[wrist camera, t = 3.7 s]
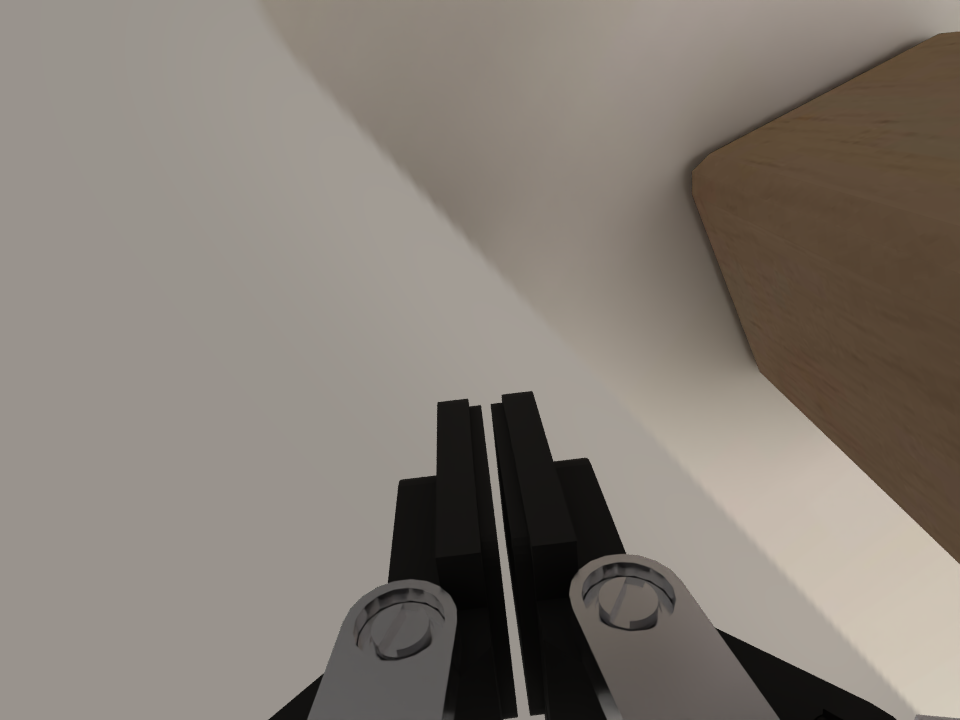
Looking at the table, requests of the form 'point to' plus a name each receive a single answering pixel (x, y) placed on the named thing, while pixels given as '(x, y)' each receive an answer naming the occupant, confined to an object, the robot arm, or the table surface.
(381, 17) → the table surface
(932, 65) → the wooden block
